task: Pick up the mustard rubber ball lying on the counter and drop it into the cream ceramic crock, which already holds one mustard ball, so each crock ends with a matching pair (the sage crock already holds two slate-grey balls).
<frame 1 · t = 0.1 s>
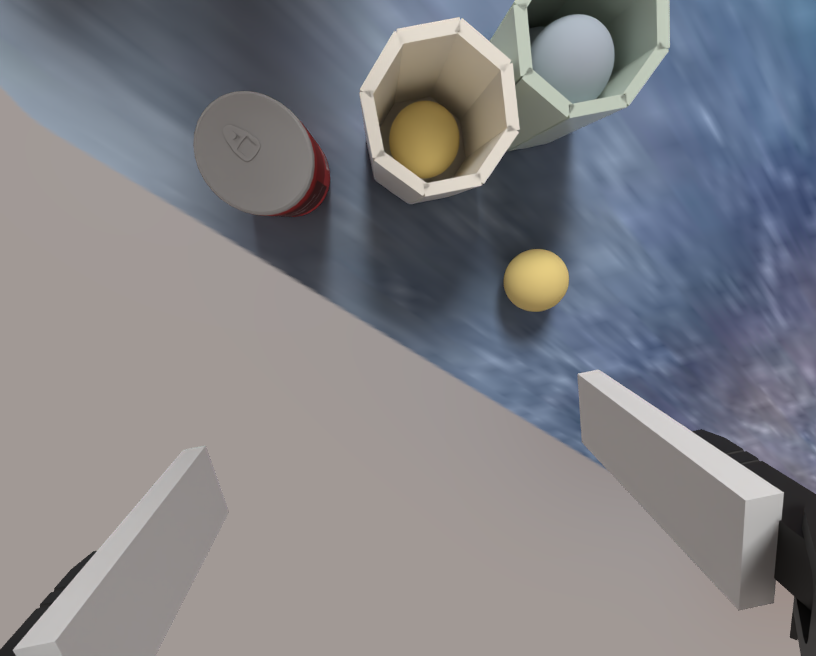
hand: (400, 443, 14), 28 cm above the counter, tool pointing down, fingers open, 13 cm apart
canned food: (289, 174, 37), on the counter
crock sage: (520, 93, 37), on the counter
ball loose: (535, 280, 39), point 3 cm above the counter
ball cream 1: (424, 141, 34), point 3 cm above the counter, touching crock cream
ball sage 2: (566, 67, 28), point 9 cm above the counter, tilted 34°, touching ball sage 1
crock cream: (420, 148, 37), on the counter
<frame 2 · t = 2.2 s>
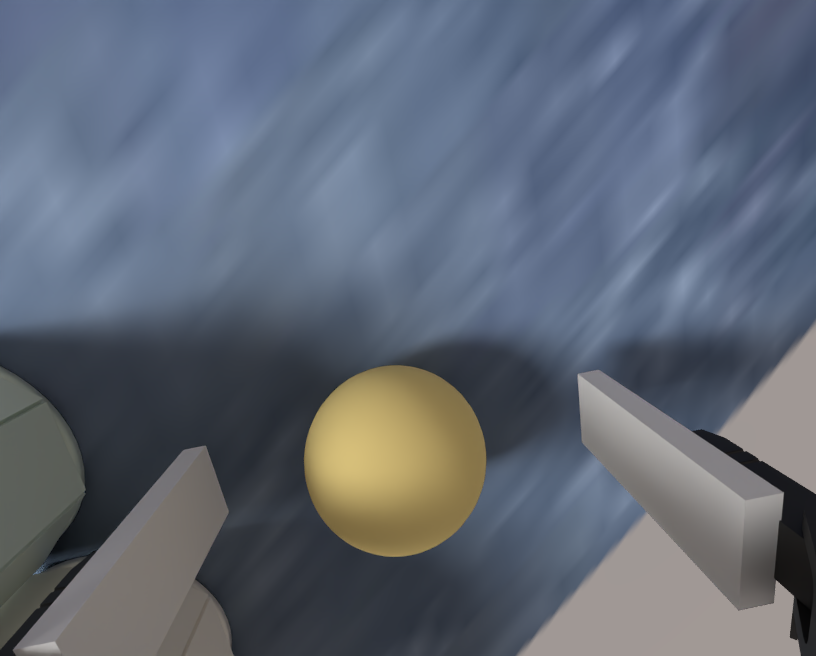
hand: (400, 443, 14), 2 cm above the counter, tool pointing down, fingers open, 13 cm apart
ball loose: (395, 454, 13), point 3 cm above the counter
crock cream: (121, 641, 18), on the counter
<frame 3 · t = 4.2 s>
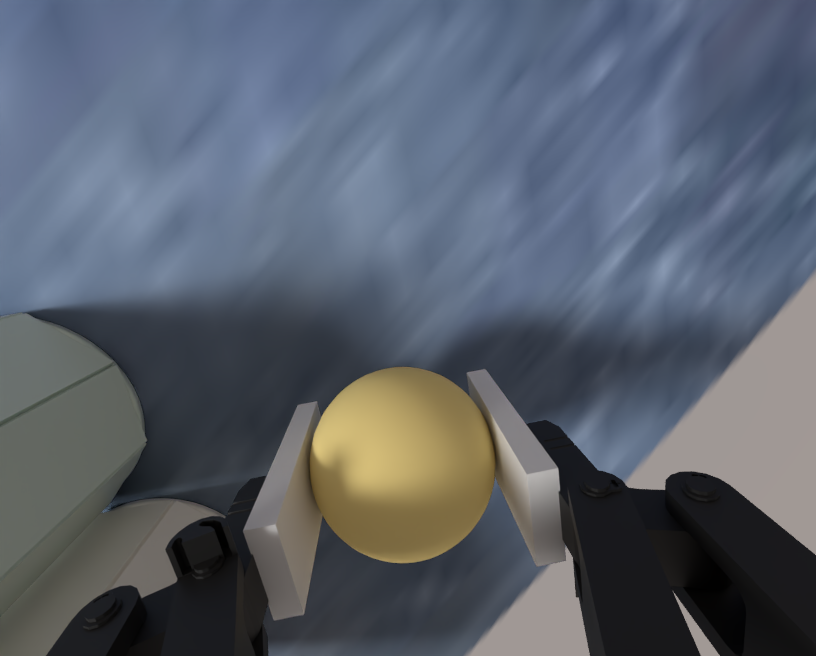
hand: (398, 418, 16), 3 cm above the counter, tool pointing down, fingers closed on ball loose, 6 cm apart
crock sage: (35, 417, 18), on the counter
ball loose: (402, 457, 13), point 6 cm above the counter, touching gripper
crock cream: (171, 575, 21), on the counter
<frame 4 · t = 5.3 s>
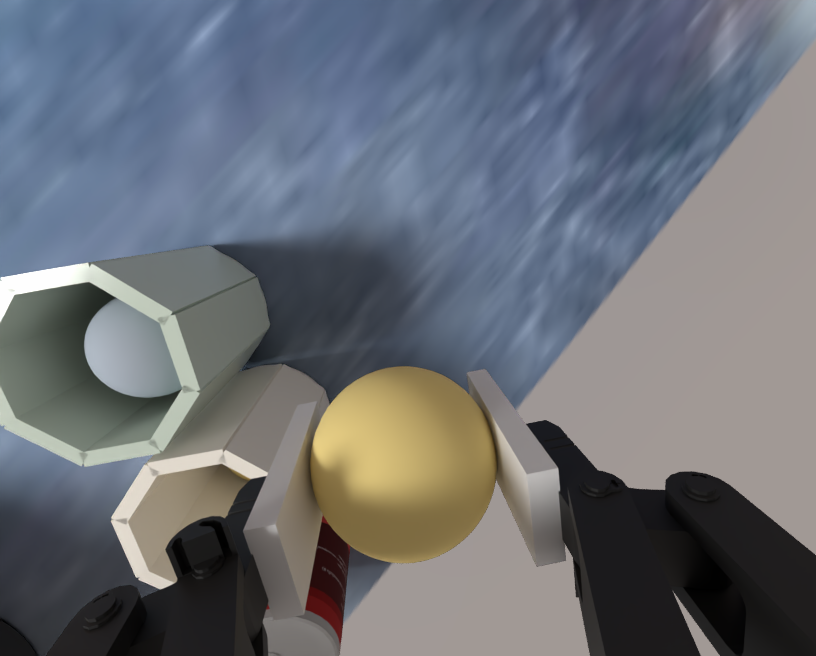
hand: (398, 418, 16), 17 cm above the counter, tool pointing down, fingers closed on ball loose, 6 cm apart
canned food: (309, 534, 37), on the counter
crock sage: (205, 310, 31), on the counter
ball loose: (403, 457, 13), point 20 cm above the counter, touching gripper
ball sage 2: (152, 343, 22), point 9 cm above the counter, tilted 48°, touching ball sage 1, crock sage
crock cream: (275, 417, 34), on the counter
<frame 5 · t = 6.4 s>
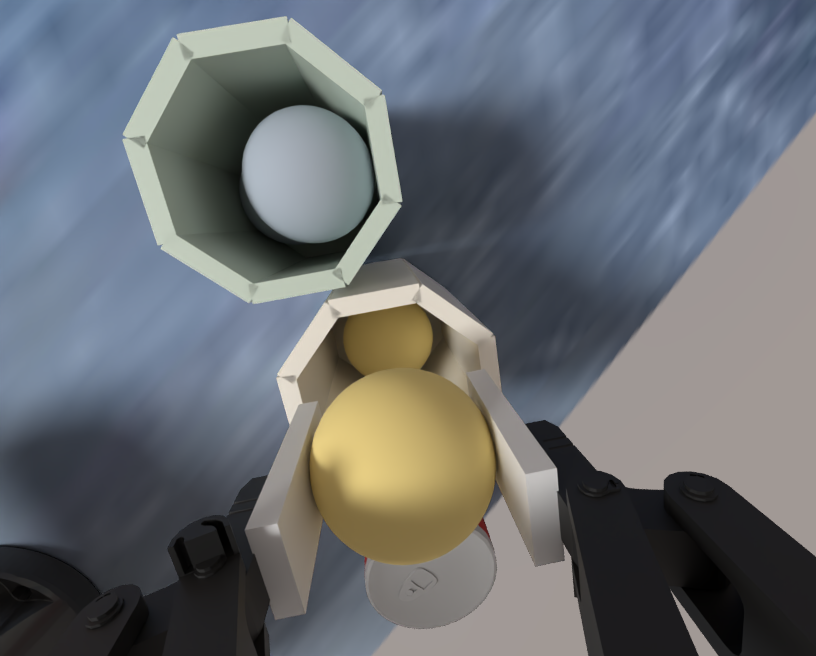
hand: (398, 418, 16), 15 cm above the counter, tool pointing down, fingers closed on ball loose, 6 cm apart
canned food: (414, 464, 34), on the counter
crock sage: (317, 195, 28), on the counter
ball loose: (403, 459, 13), point 18 cm above the counter, touching gripper
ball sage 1: (292, 194, 24), point 3 cm above the counter, tilted 19°, touching ball sage 2, crock sage
ball cream 1: (388, 337, 27), point 3 cm above the counter, touching crock cream
ball sage 2: (310, 178, 19), point 9 cm above the counter, tilted 48°, touching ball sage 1, crock sage
crock cream: (386, 324, 30), on the counter
when the fingers open (15 cm above the counter, at t = 6.6 s): ball loose drops 8 cm and tips over, resting on ball cream 1, crock cream.
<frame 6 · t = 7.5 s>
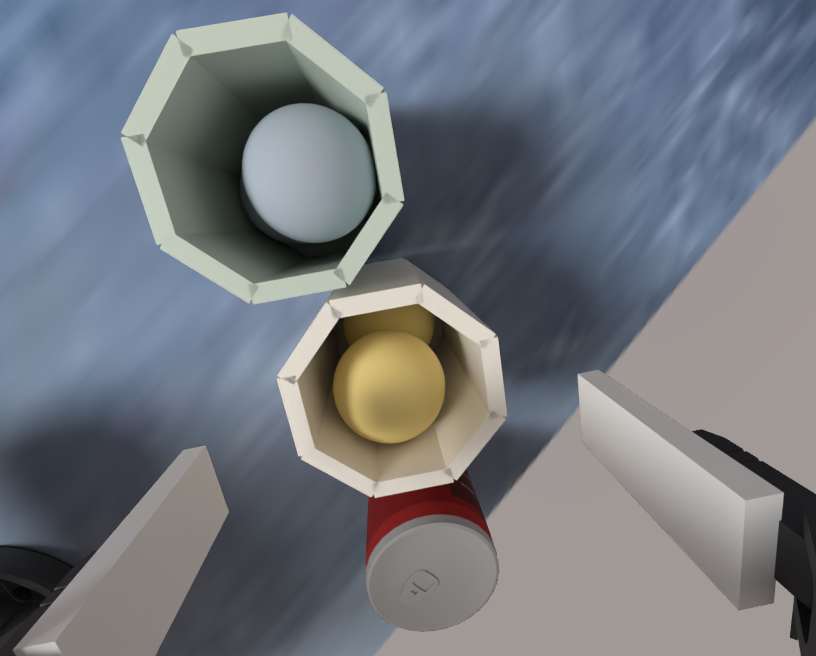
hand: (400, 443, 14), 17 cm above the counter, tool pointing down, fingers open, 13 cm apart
canned food: (415, 465, 34), on the counter
crock sage: (318, 194, 27), on the counter
ball loose: (389, 385, 22), point 9 cm above the counter, tilted 57°, touching ball cream 1, crock cream
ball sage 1: (293, 193, 24), point 3 cm above the counter, tilted 19°, touching ball sage 2, crock sage
ball cream 1: (389, 323, 26), point 3 cm above the counter, tilted 19°, touching ball loose, crock cream
ball sage 2: (311, 177, 19), point 9 cm above the counter, tilted 48°, touching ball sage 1, crock sage
crock cream: (388, 325, 30), on the counter
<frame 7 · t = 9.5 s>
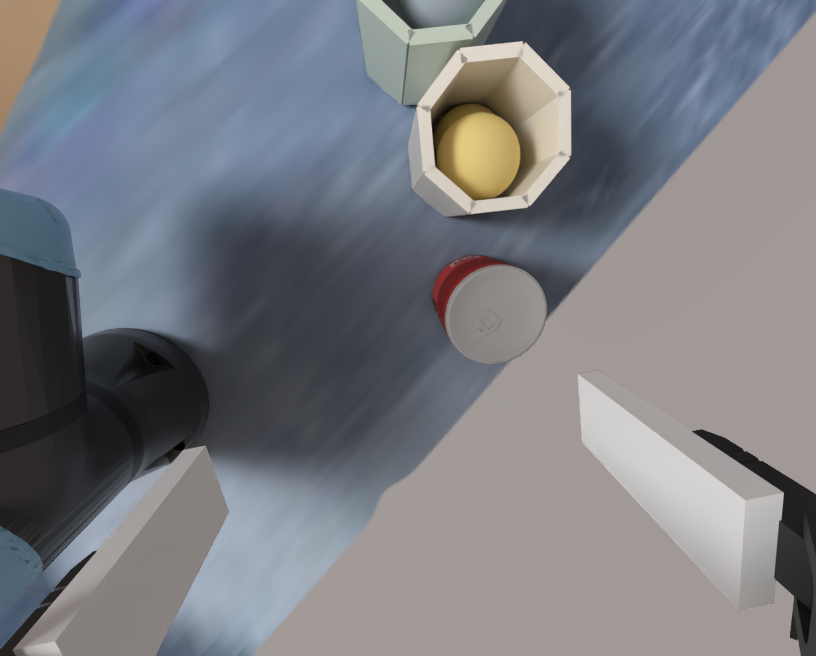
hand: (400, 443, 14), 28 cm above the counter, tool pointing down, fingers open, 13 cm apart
canned food: (468, 292, 41), on the counter
crock sage: (417, 44, 35), on the counter
ball loose: (477, 159, 29), point 9 cm above the counter, tilted 57°, touching ball cream 1, crock cream
ball cream 1: (468, 143, 34), point 3 cm above the counter, tilted 19°, touching ball loose, crock cream
crock cream: (460, 162, 38), on the counter
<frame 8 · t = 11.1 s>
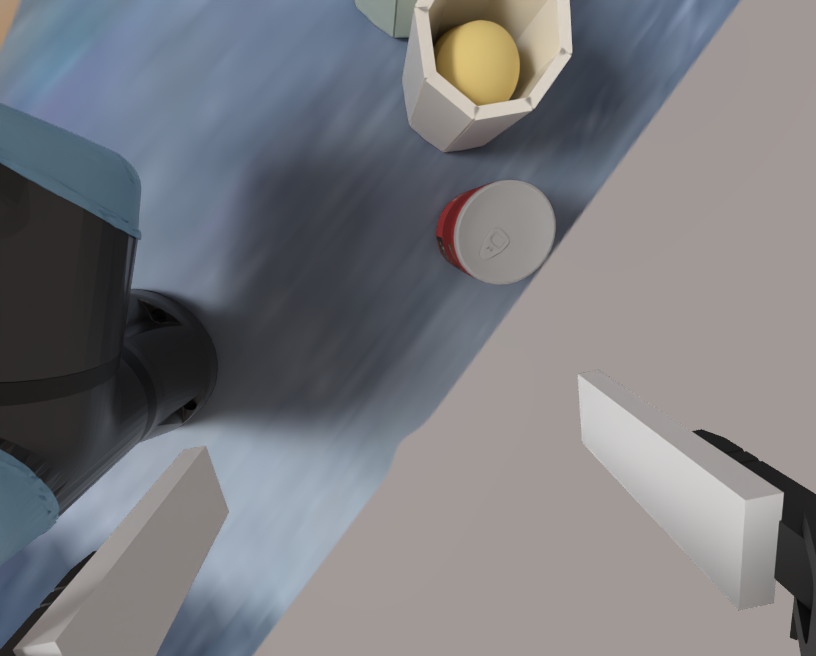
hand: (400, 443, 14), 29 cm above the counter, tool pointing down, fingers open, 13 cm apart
canned food: (472, 230, 41), on the counter
ball loose: (476, 72, 29), point 9 cm above the counter, tilted 57°, touching ball cream 1, crock cream
crock cream: (455, 95, 37), on the counter
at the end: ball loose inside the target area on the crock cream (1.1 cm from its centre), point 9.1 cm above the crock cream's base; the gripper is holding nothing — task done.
